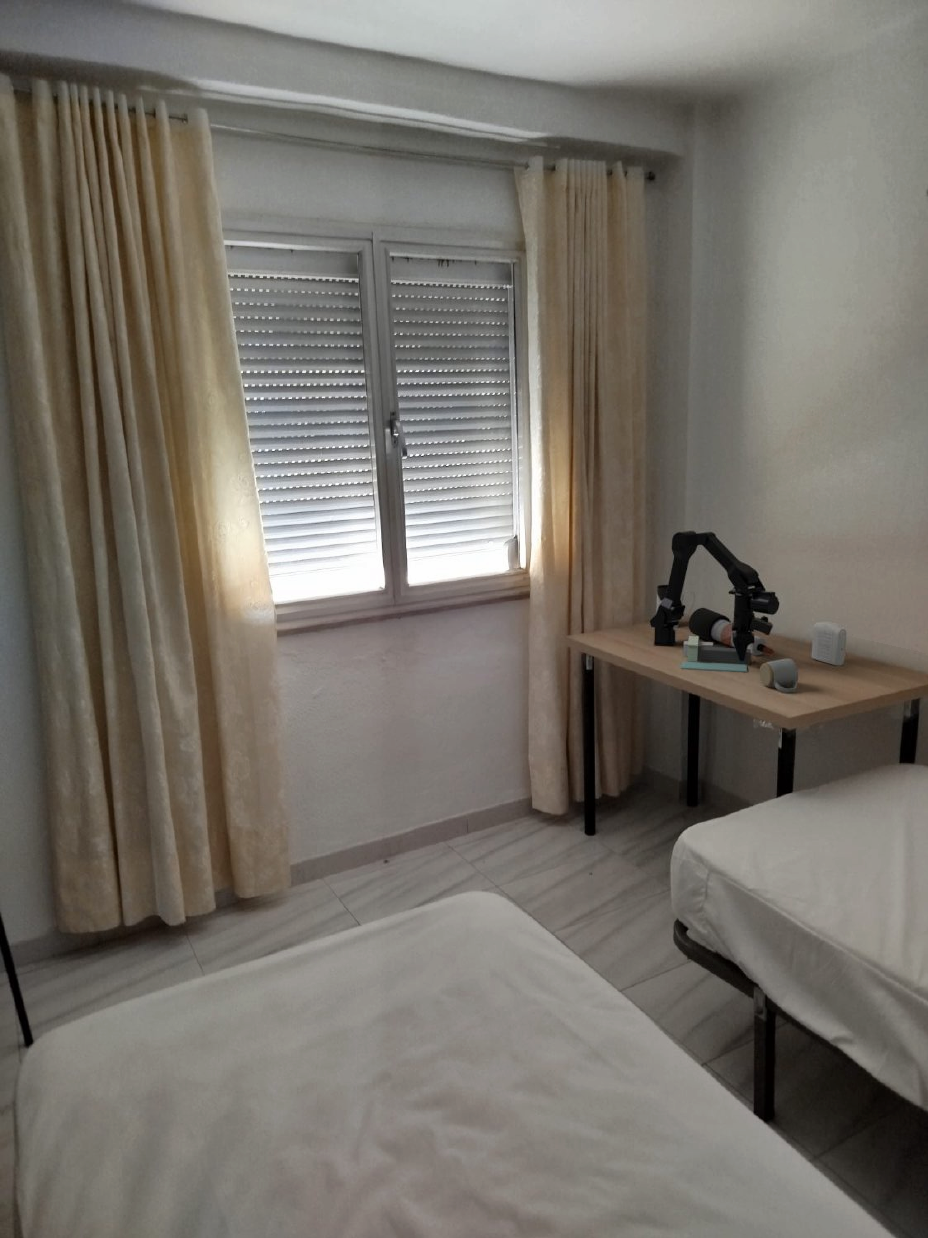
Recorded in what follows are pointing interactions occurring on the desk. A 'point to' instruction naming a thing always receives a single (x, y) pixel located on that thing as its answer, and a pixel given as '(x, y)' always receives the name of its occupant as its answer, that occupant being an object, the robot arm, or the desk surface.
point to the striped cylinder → (721, 630)
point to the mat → (714, 666)
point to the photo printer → (829, 643)
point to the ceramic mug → (779, 674)
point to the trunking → (703, 644)
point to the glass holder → (662, 593)
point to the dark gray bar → (722, 655)
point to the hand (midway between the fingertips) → (741, 658)
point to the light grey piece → (692, 648)
